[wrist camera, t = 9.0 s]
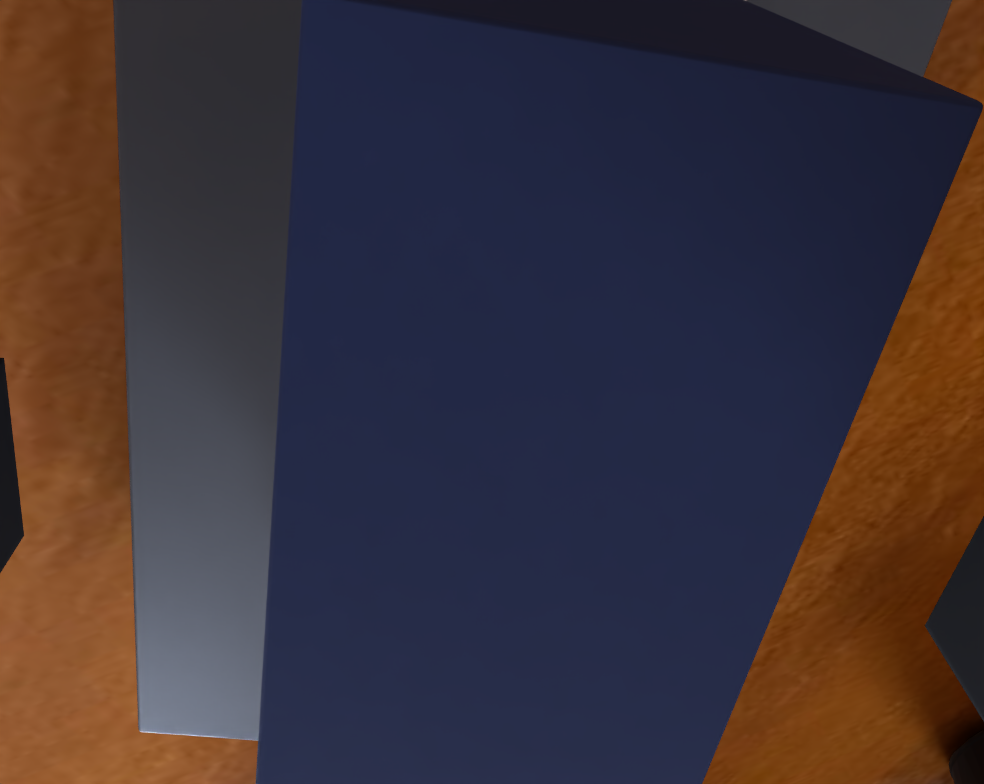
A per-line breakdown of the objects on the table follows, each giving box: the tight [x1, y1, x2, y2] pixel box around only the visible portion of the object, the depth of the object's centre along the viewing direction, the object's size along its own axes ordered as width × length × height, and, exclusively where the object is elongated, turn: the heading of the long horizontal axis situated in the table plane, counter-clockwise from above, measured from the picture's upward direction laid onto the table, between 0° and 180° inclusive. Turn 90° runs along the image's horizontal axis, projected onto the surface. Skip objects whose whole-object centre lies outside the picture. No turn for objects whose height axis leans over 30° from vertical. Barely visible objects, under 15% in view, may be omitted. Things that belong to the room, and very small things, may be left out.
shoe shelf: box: [113, 0, 952, 741], centre depth 21 cm, size 26×14×6 cm, turn 171°
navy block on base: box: [256, 0, 983, 784], centre depth 14 cm, size 14×6×9 cm, turn 171°
